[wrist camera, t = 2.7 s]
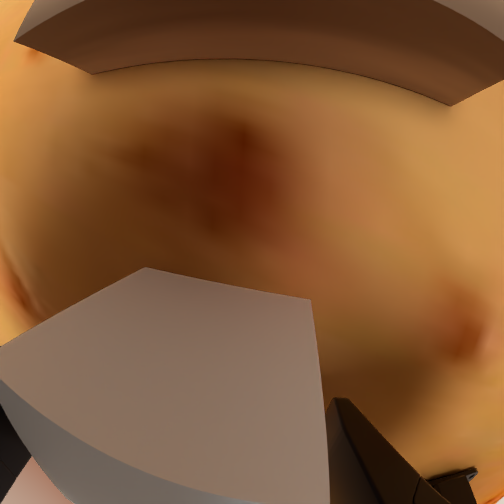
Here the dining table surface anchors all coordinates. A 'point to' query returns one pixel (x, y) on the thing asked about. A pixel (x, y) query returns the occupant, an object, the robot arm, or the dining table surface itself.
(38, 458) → the grey-blue block
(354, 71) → the walnut block
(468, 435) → the dining table surface
